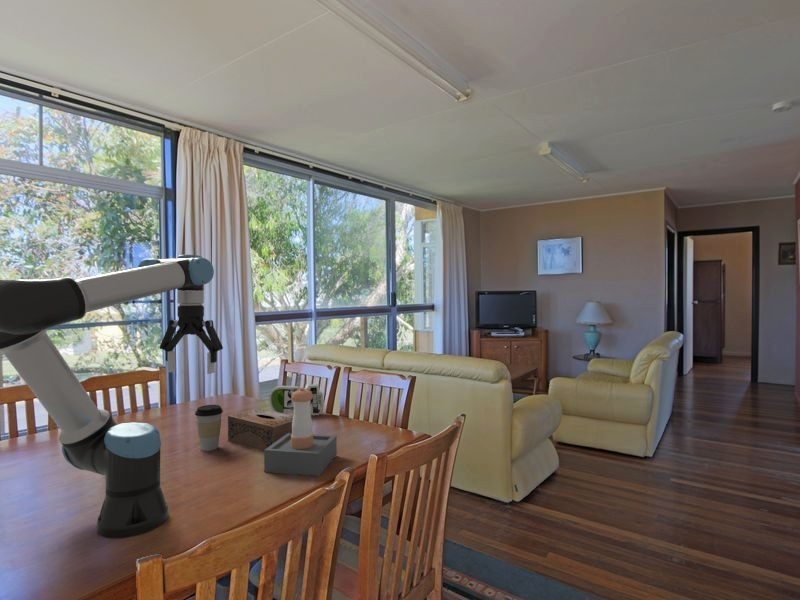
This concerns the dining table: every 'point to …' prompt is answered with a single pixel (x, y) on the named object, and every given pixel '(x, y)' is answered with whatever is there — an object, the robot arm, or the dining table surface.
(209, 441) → the coffee cup
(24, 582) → the dining table surface
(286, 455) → the tray
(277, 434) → the tissue box cover
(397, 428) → the dining table surface
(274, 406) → the cutout
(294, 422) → the salt shaker
